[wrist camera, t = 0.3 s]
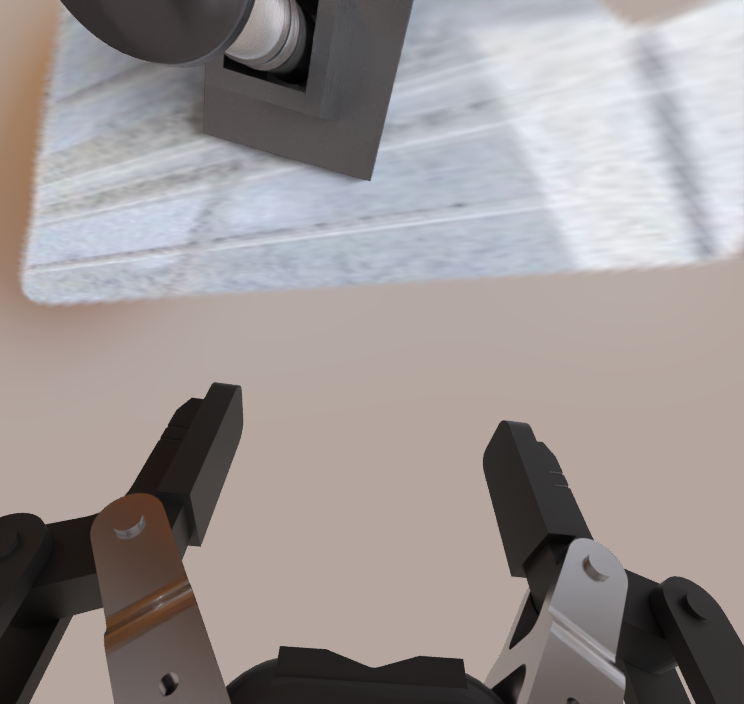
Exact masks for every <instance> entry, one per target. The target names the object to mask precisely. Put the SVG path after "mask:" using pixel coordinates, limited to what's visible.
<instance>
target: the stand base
mask: <svg viewBox="0 0 744 704" xmlns="http://www.w3.org/2000/svg"><path fill="white" fill-rule="evenodd" d="M413 1H414V0H296V2H297V3H298V4H299V6H300V7H302V8H303V9H304V10H306V11H307V12H308V13H309V15H310V16H311V17H312V19H313V20H314V21H315V23H316V24H315V31H314V38H313V45H312V53H311V60H310V67H309V74H308V81H307V86H301V85H297V84H289V83H286V82H284V81H281V80H280V79H278V78H276V77H275V76H274V75H273V74H272V73H270V72H268V71H260V70H256V69H254V68H251V67H249V66H247V65H245V64H242V63H239V62H237V61H235V60H233V59H231V58H229V57H228V56H226V55H225V54H223V53H222V54H221V55H220V56H218V57H217V58H215V59H213V60H211V61H209V62H207V63H205V95H204V129H203V133H205V134H209V135H212V136H216V137H219V138H223V139H226V140H230V141H233V142H236V143H240V144H243V145H247V146H250V147H254V148H257V149H261V150H264V151H267V152H271V153H274V154H278V155H281V156H285V157H288V158H292V159H295V160H299V161H302V162H305V163H309V164H312V165H316V166H319V167H323V168H326V169H330V170H333V171H336V172H340V173H343V174H347V175H350V176H354V177H357V178H361V179H364V180H368V181H371V178H372V173H373V169H374V165H375V161H376V157H377V152H378V148H379V144H380V140H381V136H382V131H383V127H384V123H385V119H386V115H387V110H388V106H389V102H390V98H391V94H392V89H393V85H394V81H395V77H396V73H397V68H398V64H399V60H400V56H401V51H402V47H403V43H404V39H405V35H406V30H407V26H408V22H409V18H410V14H411V9H412V5H413Z"/></svg>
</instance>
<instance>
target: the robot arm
mask: <svg viewBox="0 0 744 704" xmlns="http://www.w3.org/2000/svg"><path fill="white" fill-rule="evenodd" d="M242 429H243V407H242V391H241V386H239V385H232V384H223V383H216V382H215V383H213V384H212V385H211V387H210V389H209V391H208V393H207V394H206V397H205V398H204V399H197V398H191V399H190V400H188V401H187V402H186V403H185V404H183V405H182V406H181V407H180V408H179V409H177V410H176V412H175V414H174V415H173V417H172V419H171V420H170V422H169V424H168V427H167V428H166V429H165V431H164V433H163V434H162V436H161V439H160V441H158V443H157V444H156V446H155V448H154V450H153V451H152V453H151V454H150V456H149V458H148V460H147V461H146V463H145V465H144V466H143V468H142V470H141V472H140V473H139V475H138V477H137V478H136V480H135V482H134V483H133V485H132V487H131V488H130V490H129V491H128V492H127V494H126V495H125V496H124V497H121V498H119V499H117V500H115V501H113V502H112V503H110V504H109V505H107V506H106V507H105V508H104V509H103V510H102V511H101V512H100V513H97V514H94V515H91V516H87V517H82V518H77V519H72V520H66V521H61V522H56V523H51V524H44V522H43V521H42V520H41V518H39V517H38V516H36V515H33V514H29V513H16V514H10V515H6V516H3V517H0V704H29V703H30V701H31V699H32V697H33V695H34V693H35V690H36V689H37V687H38V685H39V683H40V681H41V679H42V677H43V675H44V673H45V671H46V669H47V667H48V665H49V663H50V661H51V659H52V656H53V655H54V652H55V651H56V649H57V647H58V645H59V643H60V640H61V639H62V636H63V635H64V633H65V631H66V628H67V627H68V625H69V623H70V620H71V619H72V617H73V615H76V614H80V613H84V612H88V611H91V610H95V609H99V608H104V614H105V619H106V626H107V627H106V628H107V629H106V632H105V634H104V646H105V653H106V659H107V664H108V670H109V676H110V682H111V687H112V693H113V698H114V704H623V700H624V701H625V704H691V703H690V700H689V698H688V696H687V694H686V692H685V689H684V687H683V685H682V683H681V680H680V678H679V676H678V674H677V672H676V669H675V667H677V666H679V668H680V670H681V673H682V675H683V677H684V679H685V681H686V683H687V686H688V688H689V690H690V692H691V694H692V697H693V699H694V701H695V703H696V704H744V645H743V644H742V642H741V640H740V639H739V637H738V635H737V634H736V632H735V630H734V628H733V627H732V625H731V624H730V622H729V620H728V618H727V617H726V615H725V613H724V612H723V610H722V609H721V607H720V606H719V604H718V603H717V602H716V601H715V600H714V599H713V598H712V597H711V595H710V594H708V593H707V592H706V591H705V590H704V589H703V588H701V587H700V586H699V585H697V584H695V583H694V582H692V581H690V580H688V579H685V578H682V577H676V576H674V577H670V578H668V579H666V580H665V581H663V582H662V583H661V584H659V583H657V582H654V581H652V580H649V579H647V578H645V577H642V576H640V575H638V574H635V573H633V572H631V571H628V570H626V569H624V568H623V566H622V564H621V563H620V561H619V560H618V559H617V557H616V556H615V555H614V554H613V553H612V552H611V551H609V549H607V548H606V547H604V546H603V545H602V544H600V543H598V542H596V541H594V539H593V537H592V536H591V533H590V531H589V529H588V527H587V525H586V522H585V520H584V518H583V516H582V514H581V512H580V509H579V507H578V505H577V503H576V501H575V498H574V496H573V494H572V492H571V490H570V488H568V483H567V481H566V479H565V477H564V475H562V470H561V468H560V465H559V463H558V461H557V459H556V457H555V456H554V454H553V453H552V452H551V451H550V450H549V449H548V448H547V447H546V445H545V444H544V443H543V442H537V441H536V438H535V436H534V434H533V431H532V429H531V427H530V426H529V424H527V423H521V422H513V421H505V420H503V421H501V422H500V423H499V425H498V427H497V429H496V431H495V433H494V435H493V437H492V439H491V440H490V442H489V444H488V446H487V448H486V450H485V453H484V457H483V469H484V473H485V478H486V481H487V485H488V489H489V493H490V497H491V500H492V504H493V508H494V512H495V515H496V519H497V523H498V527H499V531H500V535H501V538H502V542H503V546H504V550H505V554H506V557H507V561H508V565H509V569H510V573H511V576H513V577H523V578H527V581H528V584H529V589H527V591H526V593H525V595H524V597H523V600H522V602H521V605H520V608H519V610H518V613H517V615H516V617H515V620H514V622H513V625H512V627H511V630H510V632H509V635H508V637H507V640H506V643H505V645H504V647H503V650H502V652H501V654H500V656H499V658H498V660H497V661H496V662H495V664H494V665H493V667H492V669H491V670H490V672H489V674H488V676H487V678H486V680H485V682H484V684H483V683H482V682H480V681H479V680H477V679H475V678H474V677H472V676H470V675H469V674H466V673H465V669H464V662H463V659H455V658H442V657H441V658H440V657H428V656H417V657H414V658H410V659H407V660H403V661H399V662H396V663H392V664H388V665H385V666H382V667H377V668H372V667H368V666H366V665H363V664H361V663H358V662H356V661H354V660H351V659H349V658H346V657H344V656H341V655H339V654H336V653H334V652H331V651H329V650H327V649H314V648H299V647H286V646H280V649H279V655H278V658H276V659H272V660H268V661H265V662H263V663H261V664H259V665H256V666H254V667H252V668H251V669H249V670H248V671H245V672H244V673H242V674H241V675H240V676H238V677H237V678H236V679H235V680H233V681H232V682H231V683H230V684H229V685H227V686H226V687H225V684H224V681H223V678H222V675H221V672H220V669H219V666H218V664H217V661H216V657H215V654H214V652H213V649H212V646H211V643H210V640H209V637H208V634H207V631H206V628H205V625H204V622H203V619H202V616H201V613H200V610H199V608H198V604H197V602H196V598H195V596H194V593H193V590H192V587H191V585H190V583H189V580H188V578H187V575H186V572H185V569H184V566H183V563H182V559H183V556H184V554H185V551H186V549H187V546H188V545H189V546H201V544H202V541H203V538H204V536H205V533H206V531H207V528H208V525H209V522H210V520H211V517H212V514H213V512H214V509H215V506H216V503H217V501H218V498H219V495H220V493H221V490H222V487H223V485H224V482H225V479H226V476H227V474H228V471H229V468H230V465H231V463H232V460H233V458H234V455H235V452H236V449H237V447H238V444H239V441H240V438H241V434H242Z"/></svg>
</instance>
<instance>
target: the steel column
mask: <svg viewBox="0 0 744 704" xmlns="http://www.w3.org/2000/svg"><path fill="white" fill-rule="evenodd" d="M61 2H62V3H63V4H64V5H65V6H66V8H67V9H68V10H69V11H70V13H71V14H72V15H73V16H74V17H75V18H76V19H77V20H78V21H79V22H80V23H81V24H82V25H83V26H84V27H85V28H87V29H88V30H89V31H90V32H91V33H92V34H94V35H95V36H96V37H97V38H99V39H100V40H102V41H103V42H105V43H106V44H108V45H109V46H111V47H113V48H115V49H117V50H118V51H120V52H122V53H124V54H127V55H130V56H132V57H135V58H138V59H142V60H145V61H149V62H153V63H156V64H160V65H165V66H169V67H181V68H184V67H194V66H198V65H201V64H205V63H207V62H209V61H211V60H213V59H215V58H217V57H218V56H220V55H221V54H222V53H223V54H225V55H226V56H228V57H229V58H231V59H233V60H235V61H237V62H239V63H242V64H245V65H247V66H249V67H251V68H254V69H256V70H260V71H268V72H270V73H272V74H273V75H274V76H275V77H276V78H278V79H280V80H281V81H284V82H286V83H289V84H297V85H301V86H307V81H308V74H309V67H310V60H311V53H312V45H313V38H314V31H315V24H316V23H315V21H314V20H313V19H312V17H311V16H310V15H309V13H308V12H307V11H306V10H304V9H303V8H302V7H300V6H299V4H298V3H297V2H296V0H61Z"/></svg>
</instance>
